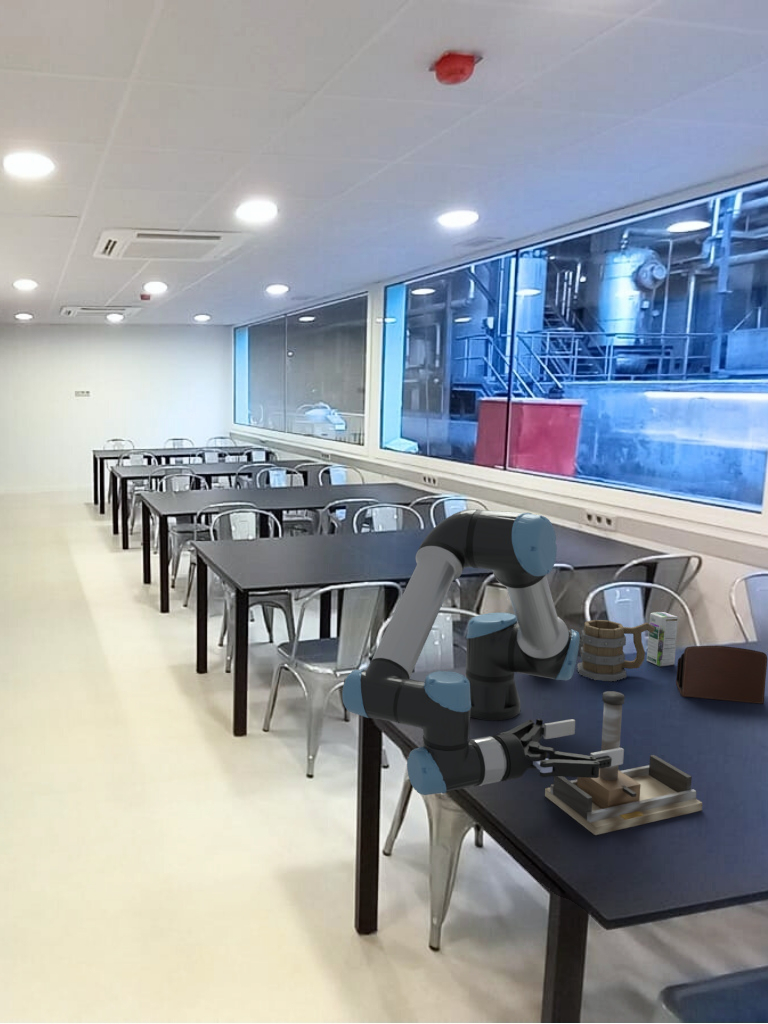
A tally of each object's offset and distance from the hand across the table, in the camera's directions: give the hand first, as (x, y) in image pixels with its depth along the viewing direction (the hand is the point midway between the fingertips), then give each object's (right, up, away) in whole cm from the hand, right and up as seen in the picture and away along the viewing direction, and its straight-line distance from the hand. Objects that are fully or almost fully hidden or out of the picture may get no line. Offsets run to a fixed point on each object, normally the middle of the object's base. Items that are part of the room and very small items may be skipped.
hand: (597, 740), depth 146 cm
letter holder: (+48, -6, +64) cm, 80 cm away
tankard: (+25, -4, +77) cm, 82 cm away
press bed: (+6, -13, +4) cm, 15 cm away
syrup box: (+42, -3, +88) cm, 98 cm away
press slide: (+3, -11, +2) cm, 12 cm away
